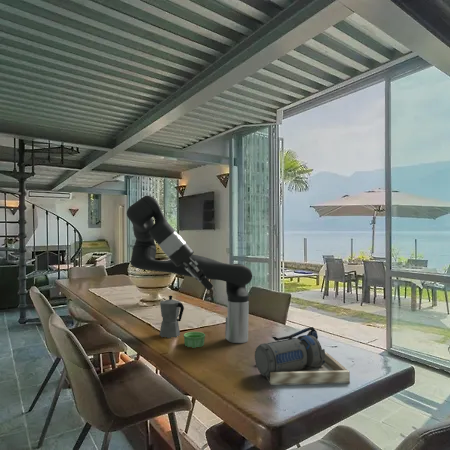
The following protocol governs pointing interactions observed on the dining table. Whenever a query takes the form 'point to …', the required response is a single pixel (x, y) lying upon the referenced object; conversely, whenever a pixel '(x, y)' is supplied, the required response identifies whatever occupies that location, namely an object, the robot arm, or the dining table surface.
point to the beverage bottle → (290, 353)
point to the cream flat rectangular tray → (313, 374)
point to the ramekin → (194, 339)
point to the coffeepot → (170, 317)
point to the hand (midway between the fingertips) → (210, 288)
